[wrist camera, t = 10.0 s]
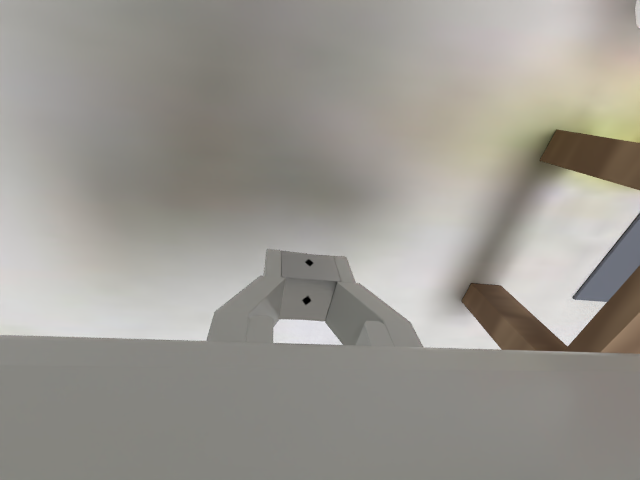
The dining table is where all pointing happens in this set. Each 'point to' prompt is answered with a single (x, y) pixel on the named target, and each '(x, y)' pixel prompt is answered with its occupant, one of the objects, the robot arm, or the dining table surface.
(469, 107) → the dining table surface
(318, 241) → the dining table surface
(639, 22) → the beverage cup
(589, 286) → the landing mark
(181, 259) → the dining table surface
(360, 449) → the robot arm
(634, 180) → the bridge
